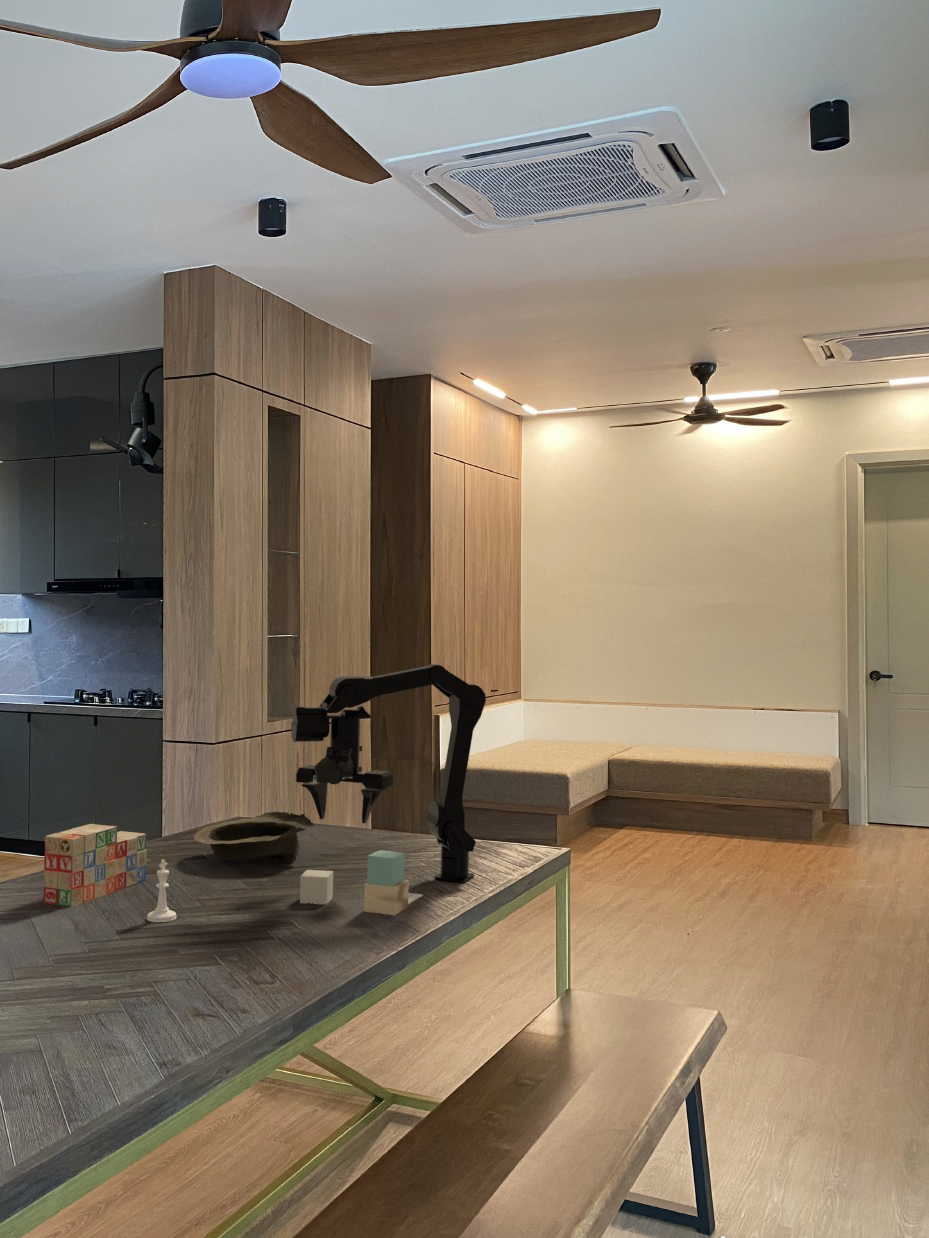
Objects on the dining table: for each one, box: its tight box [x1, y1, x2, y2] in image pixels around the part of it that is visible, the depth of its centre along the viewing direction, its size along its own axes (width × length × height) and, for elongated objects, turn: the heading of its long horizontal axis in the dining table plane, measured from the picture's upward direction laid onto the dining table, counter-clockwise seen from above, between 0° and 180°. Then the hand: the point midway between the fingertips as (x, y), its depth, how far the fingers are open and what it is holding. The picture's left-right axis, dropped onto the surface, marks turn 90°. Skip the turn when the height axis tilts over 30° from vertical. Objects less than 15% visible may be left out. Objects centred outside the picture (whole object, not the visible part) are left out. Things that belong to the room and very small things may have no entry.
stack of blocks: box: [43, 823, 148, 908], centre depth 199 cm, size 21×6×12 cm, turn 160°
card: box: [408, 892, 424, 905], centre depth 200 cm, size 7×7×1 cm
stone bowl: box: [193, 811, 315, 864], centre depth 228 cm, size 25×25×9 cm
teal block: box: [366, 849, 406, 887], centre depth 192 cm, size 5×5×5 cm
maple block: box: [363, 879, 410, 916], centre depth 192 cm, size 6×6×5 cm
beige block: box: [299, 869, 334, 905], centre depth 197 cm, size 5×5×5 cm
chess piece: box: [146, 859, 177, 923], centre depth 182 cm, size 5×5×10 cm
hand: (343, 820), depth 208 cm, fingers open, 9 cm apart
